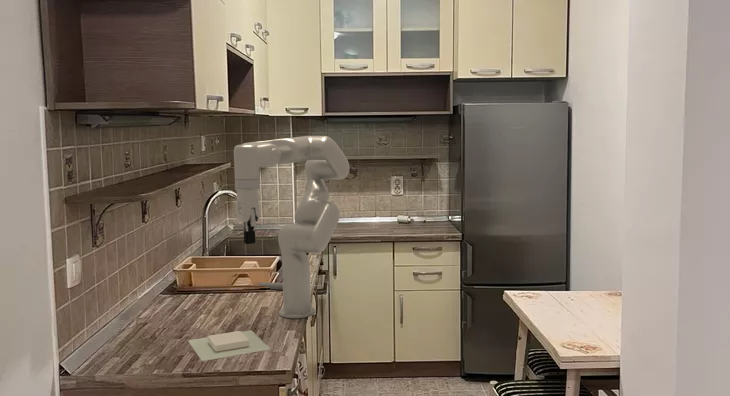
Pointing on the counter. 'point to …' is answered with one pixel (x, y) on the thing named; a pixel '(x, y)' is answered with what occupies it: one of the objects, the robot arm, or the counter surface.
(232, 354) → the mat
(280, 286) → the kitchen whisk
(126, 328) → the counter surface
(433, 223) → the counter surface
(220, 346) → the tile
